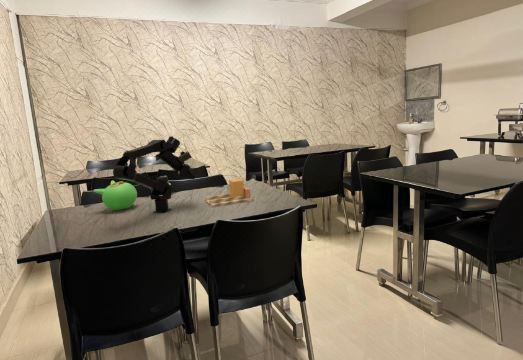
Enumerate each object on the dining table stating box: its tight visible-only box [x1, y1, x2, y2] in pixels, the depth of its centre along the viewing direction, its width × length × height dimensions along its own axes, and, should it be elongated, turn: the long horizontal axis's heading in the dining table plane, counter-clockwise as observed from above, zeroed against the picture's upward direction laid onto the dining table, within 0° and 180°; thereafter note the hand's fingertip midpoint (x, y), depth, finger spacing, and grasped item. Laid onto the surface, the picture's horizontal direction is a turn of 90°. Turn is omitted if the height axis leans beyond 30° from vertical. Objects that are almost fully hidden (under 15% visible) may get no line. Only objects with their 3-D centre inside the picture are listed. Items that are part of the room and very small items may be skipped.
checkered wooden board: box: [203, 193, 254, 208], centre depth 193 cm, size 22×14×3 cm, turn 113°
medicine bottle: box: [156, 175, 173, 197], centre depth 210 cm, size 7×7×12 cm
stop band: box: [244, 185, 251, 199], centre depth 196 cm, size 2×12×5 cm, turn 23°
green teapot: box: [93, 180, 138, 211], centre depth 188 cm, size 18×17×15 cm
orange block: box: [228, 178, 245, 197], centre depth 194 cm, size 6×6×9 cm
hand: (194, 178), depth 188 cm, fingers closed
